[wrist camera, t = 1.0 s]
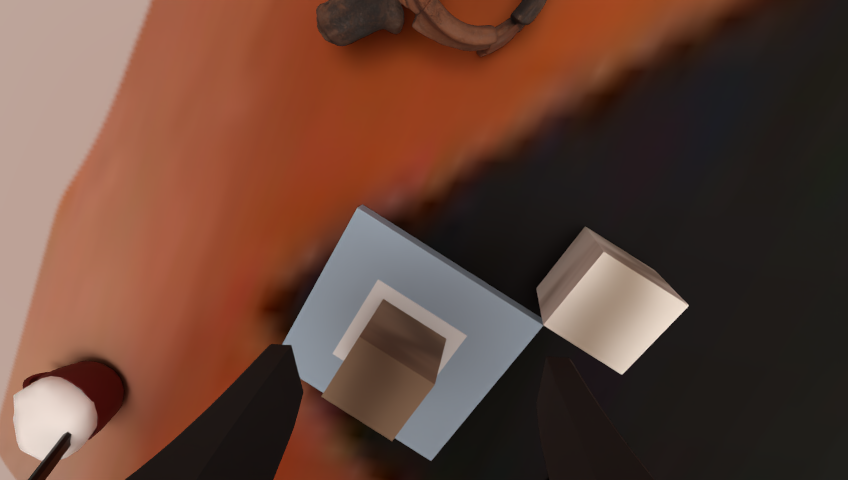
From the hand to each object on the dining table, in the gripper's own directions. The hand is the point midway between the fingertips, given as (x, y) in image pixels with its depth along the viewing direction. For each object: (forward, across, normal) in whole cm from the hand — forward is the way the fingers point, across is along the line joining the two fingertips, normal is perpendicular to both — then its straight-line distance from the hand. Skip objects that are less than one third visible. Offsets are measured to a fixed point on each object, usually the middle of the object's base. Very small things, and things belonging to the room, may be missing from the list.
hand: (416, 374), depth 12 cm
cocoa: (+14, +29, +20) cm, 38 cm away
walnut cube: (+12, +3, +12) cm, 17 cm away
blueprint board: (+13, +3, +12) cm, 18 cm away
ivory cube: (+14, -10, +6) cm, 18 cm away
